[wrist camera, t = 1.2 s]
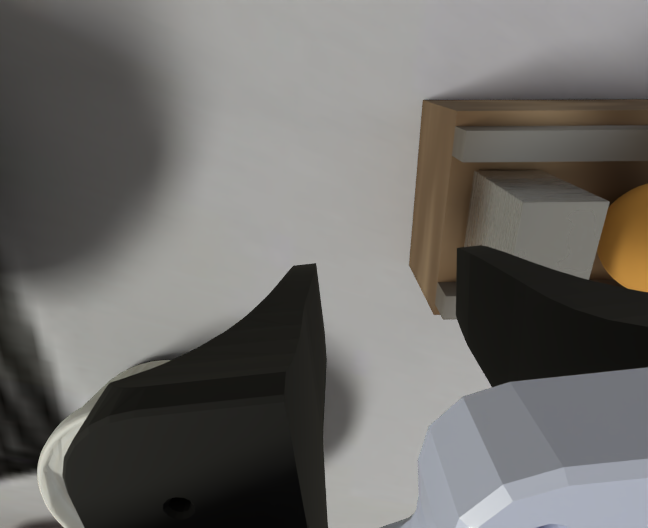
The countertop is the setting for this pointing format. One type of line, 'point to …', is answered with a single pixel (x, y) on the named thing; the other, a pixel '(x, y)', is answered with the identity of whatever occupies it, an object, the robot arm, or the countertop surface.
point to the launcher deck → (514, 168)
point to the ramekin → (57, 448)
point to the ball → (627, 240)
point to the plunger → (536, 219)
